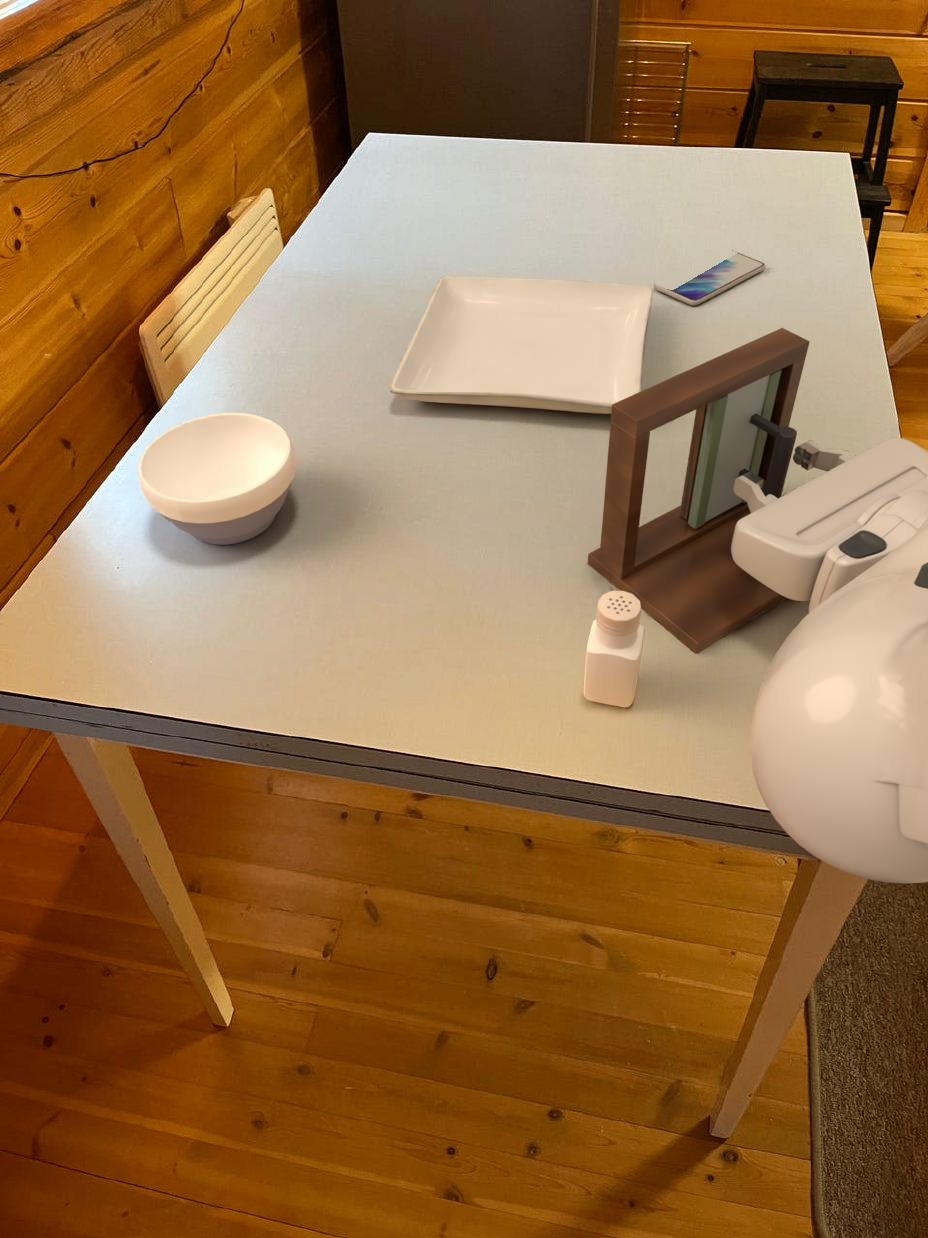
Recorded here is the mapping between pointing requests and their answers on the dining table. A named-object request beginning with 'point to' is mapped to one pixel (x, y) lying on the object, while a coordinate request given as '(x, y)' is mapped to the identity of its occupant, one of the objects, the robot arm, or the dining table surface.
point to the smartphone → (715, 279)
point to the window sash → (739, 448)
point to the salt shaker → (614, 650)
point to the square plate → (527, 344)
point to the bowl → (219, 475)
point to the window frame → (689, 499)
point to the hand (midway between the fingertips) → (770, 465)
